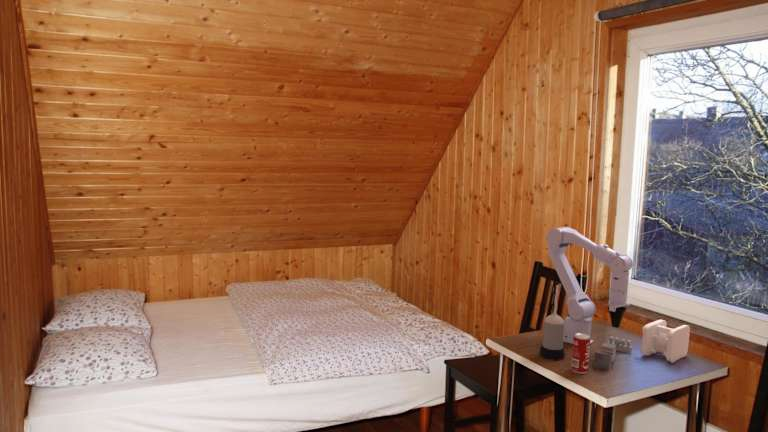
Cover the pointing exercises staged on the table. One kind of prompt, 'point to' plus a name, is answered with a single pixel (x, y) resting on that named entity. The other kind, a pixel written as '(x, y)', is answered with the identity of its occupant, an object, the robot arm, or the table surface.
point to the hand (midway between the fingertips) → (615, 326)
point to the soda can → (580, 353)
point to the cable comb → (621, 345)
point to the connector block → (603, 359)
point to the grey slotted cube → (609, 349)
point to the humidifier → (553, 335)
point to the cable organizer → (665, 340)
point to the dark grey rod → (616, 346)
